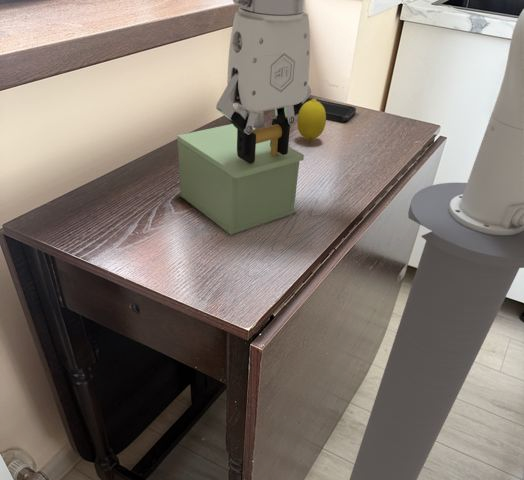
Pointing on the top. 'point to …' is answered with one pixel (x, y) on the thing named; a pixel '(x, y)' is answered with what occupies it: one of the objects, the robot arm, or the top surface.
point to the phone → (336, 110)
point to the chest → (236, 192)
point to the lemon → (311, 119)
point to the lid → (225, 149)
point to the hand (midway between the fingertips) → (262, 154)
